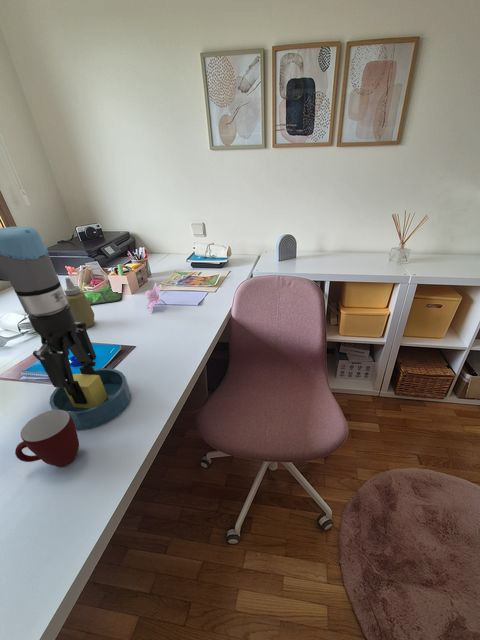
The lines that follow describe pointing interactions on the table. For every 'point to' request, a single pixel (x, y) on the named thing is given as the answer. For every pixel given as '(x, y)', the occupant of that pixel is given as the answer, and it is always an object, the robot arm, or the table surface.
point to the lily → (153, 297)
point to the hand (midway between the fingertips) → (87, 395)
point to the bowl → (101, 413)
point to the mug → (50, 439)
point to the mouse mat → (103, 296)
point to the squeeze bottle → (79, 304)
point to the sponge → (90, 390)
